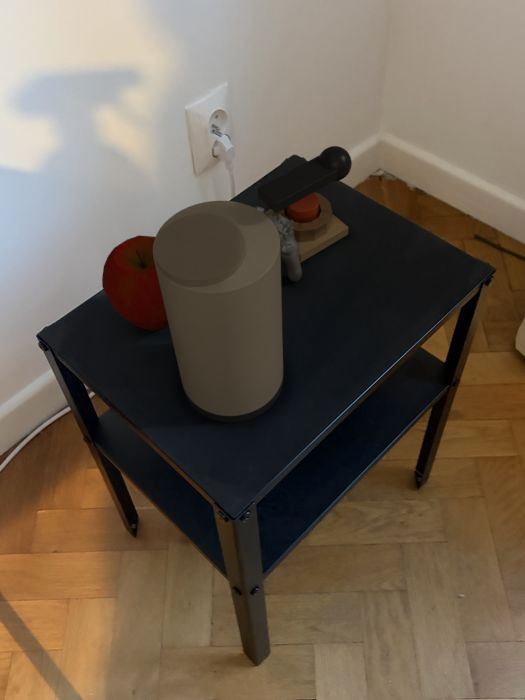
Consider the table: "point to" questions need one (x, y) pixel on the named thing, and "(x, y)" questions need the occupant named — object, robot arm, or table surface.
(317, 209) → the button
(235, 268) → the beige cylinder
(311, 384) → the table surface
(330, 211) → the button base
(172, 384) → the table surface
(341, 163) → the switch
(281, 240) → the grey toy figure
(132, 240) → the apple
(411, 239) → the table surface
